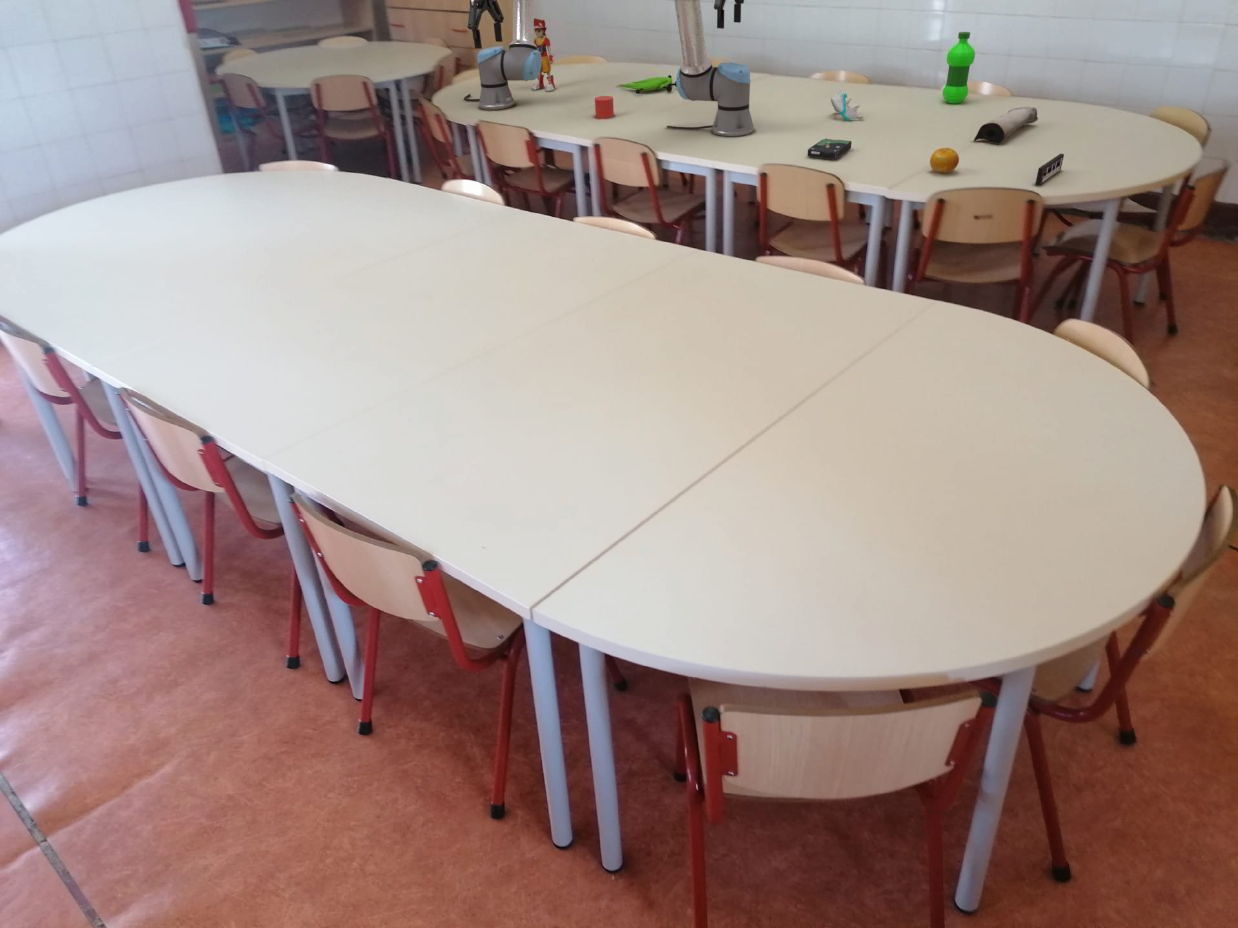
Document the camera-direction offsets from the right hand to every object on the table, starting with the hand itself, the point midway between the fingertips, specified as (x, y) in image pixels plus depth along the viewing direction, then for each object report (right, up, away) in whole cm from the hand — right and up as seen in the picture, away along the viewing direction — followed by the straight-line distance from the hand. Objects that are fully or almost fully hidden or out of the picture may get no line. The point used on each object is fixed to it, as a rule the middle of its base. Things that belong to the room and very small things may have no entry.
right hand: (729, 25), depth 349 cm
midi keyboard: (+89, -83, -74) cm, 143 cm away
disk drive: (+29, -64, -42) cm, 82 cm away
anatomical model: (+44, -37, -3) cm, 58 cm away
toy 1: (-78, +1, +63) cm, 100 cm away
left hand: (-93, -10, -6) cm, 94 cm away
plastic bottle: (+90, -28, +6) cm, 94 cm away
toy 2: (-31, -2, +54) cm, 62 cm away
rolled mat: (+94, -54, -33) cm, 113 cm away
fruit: (+60, -78, -64) cm, 118 cm away
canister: (-49, -29, +16) cm, 59 cm away
